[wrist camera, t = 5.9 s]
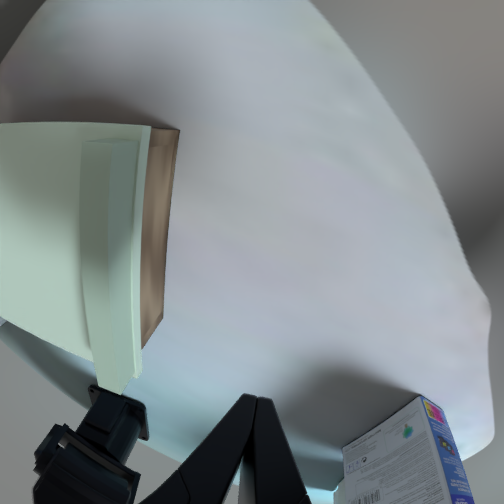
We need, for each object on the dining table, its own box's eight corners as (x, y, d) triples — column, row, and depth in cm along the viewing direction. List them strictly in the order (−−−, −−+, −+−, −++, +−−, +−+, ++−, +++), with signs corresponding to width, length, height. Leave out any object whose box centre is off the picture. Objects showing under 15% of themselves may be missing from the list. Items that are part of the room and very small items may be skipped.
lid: (142, 370, 17) (123, 402, 14) (-22, 295, 18) (-44, 310, 15) (151, 125, 12) (116, 126, 9) (-39, 126, 13) (-68, 132, 10)
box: (163, 317, 22) (134, 360, 17) (14, 266, 23) (-21, 290, 18) (179, 130, 17) (140, 131, 12) (8, 123, 18) (-37, 130, 13)
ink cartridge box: (373, 460, 26) (381, 576, 13) (338, 447, 25) (339, 578, 12) (448, 411, 22) (485, 537, 9) (419, 392, 22) (457, 542, 8)
